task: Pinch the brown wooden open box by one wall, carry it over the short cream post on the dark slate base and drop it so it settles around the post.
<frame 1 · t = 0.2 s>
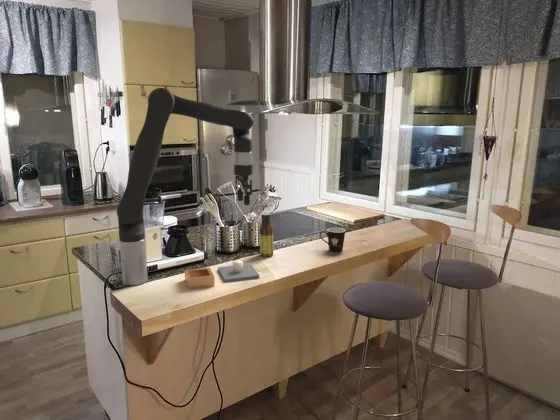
hand: (243, 202, 177), 29 cm above the countertop, fingers open, 8 cm apart
post base: (238, 273, 178), on the countertop
coffee mug: (333, 249, 210), on the countertop
sauce bottle: (266, 255, 201), on the countertop
brown wooden open box: (199, 282, 169), on the countertop
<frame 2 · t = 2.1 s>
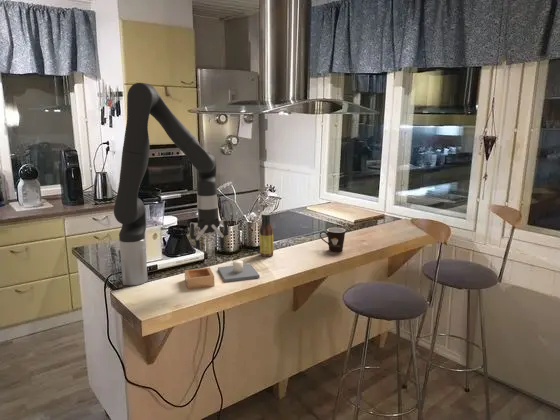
hand: (209, 247, 167), 14 cm above the countertop, fingers open, 8 cm apart
nothing on the countertop moved.
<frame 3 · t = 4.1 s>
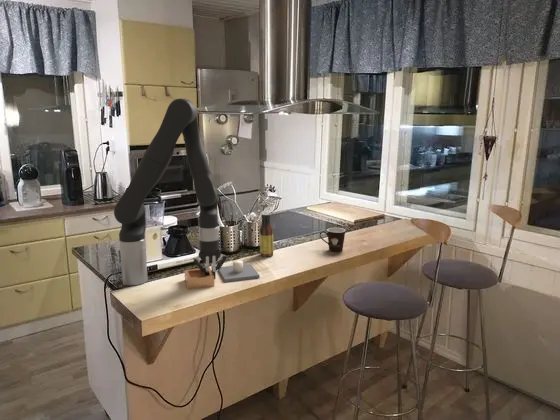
hand: (210, 280, 170), 1 cm above the countertop, fingers closed on brown wooden open box
brown wooden open box: (199, 282, 169), on the countertop, touching gripper
everything else where it was.
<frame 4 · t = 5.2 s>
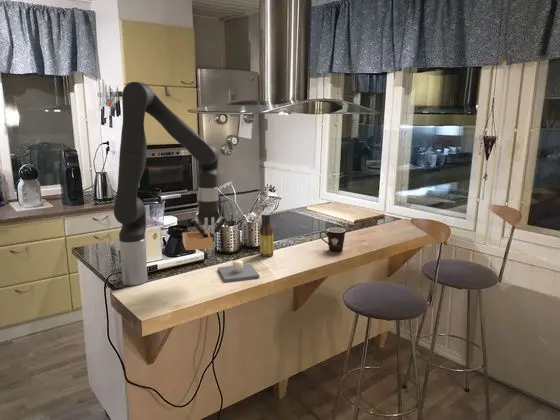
hand: (209, 242, 167), 16 cm above the countertop, fingers closed on brown wooden open box
brown wooden open box: (197, 245, 165), point 15 cm above the countertop, touching gripper
everything else where it was.
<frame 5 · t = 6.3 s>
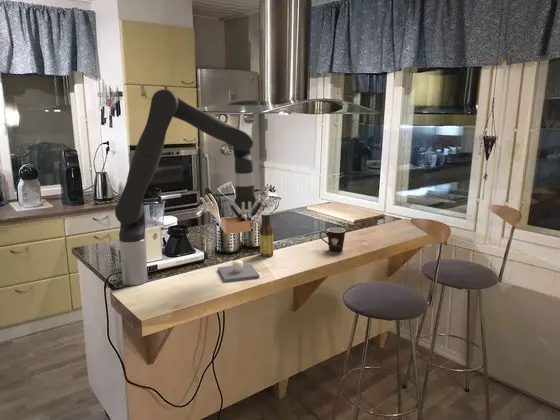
hand: (246, 226, 174), 20 cm above the countertop, fingers closed on brown wooden open box
brown wooden open box: (235, 229, 173), point 19 cm above the countertop, touching gripper
everything else where it was.
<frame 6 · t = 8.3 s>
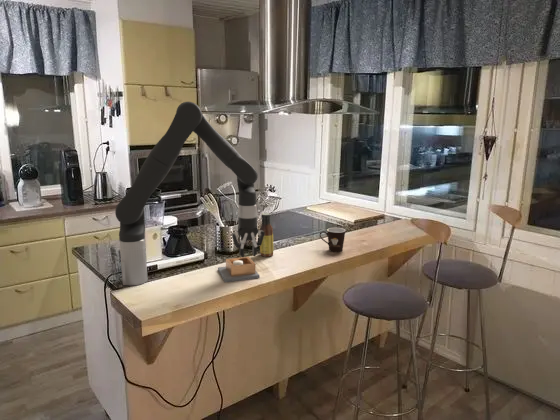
hand: (248, 255, 178), 7 cm above the countertop, fingers open, 4 cm apart
brown wooden open box: (240, 270, 178), point 1 cm above the countertop, touching post base
everything else where it was.
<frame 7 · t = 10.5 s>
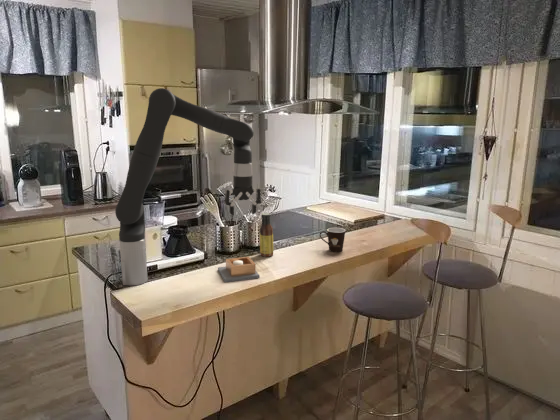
hand: (242, 214, 174), 25 cm above the countertop, fingers open, 8 cm apart
nothing on the countertop moved.
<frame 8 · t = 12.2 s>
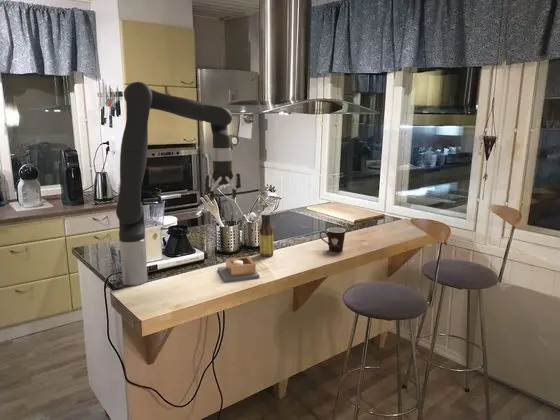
hand: (223, 199, 177), 30 cm above the countertop, fingers open, 8 cm apart
nothing on the countertop moved.
at the end: brown wooden open box 1.0 cm off-centre on the post base, point 1.2 cm above the post base's base; brown wooden open box tilted 0°; the gripper is holding nothing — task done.
